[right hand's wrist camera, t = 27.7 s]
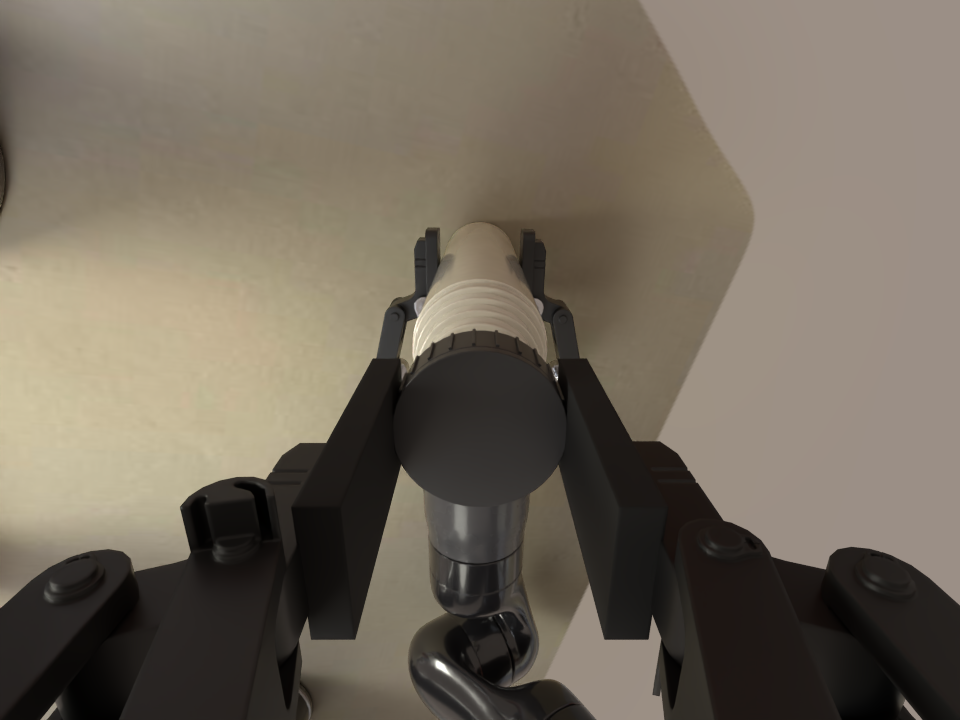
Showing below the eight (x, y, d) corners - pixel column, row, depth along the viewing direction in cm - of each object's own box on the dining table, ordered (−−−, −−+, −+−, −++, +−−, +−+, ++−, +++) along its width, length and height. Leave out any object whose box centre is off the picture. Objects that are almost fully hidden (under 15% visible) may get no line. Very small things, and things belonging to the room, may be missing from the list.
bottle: (443, 287, 38) (383, 490, 14) (447, 218, 37) (387, 319, 13) (510, 293, 38) (560, 503, 15) (517, 225, 37) (588, 336, 13)
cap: (526, 491, 15) (532, 527, 14) (381, 448, 15) (369, 481, 13) (585, 357, 14) (598, 382, 12) (425, 305, 13) (418, 324, 12)
